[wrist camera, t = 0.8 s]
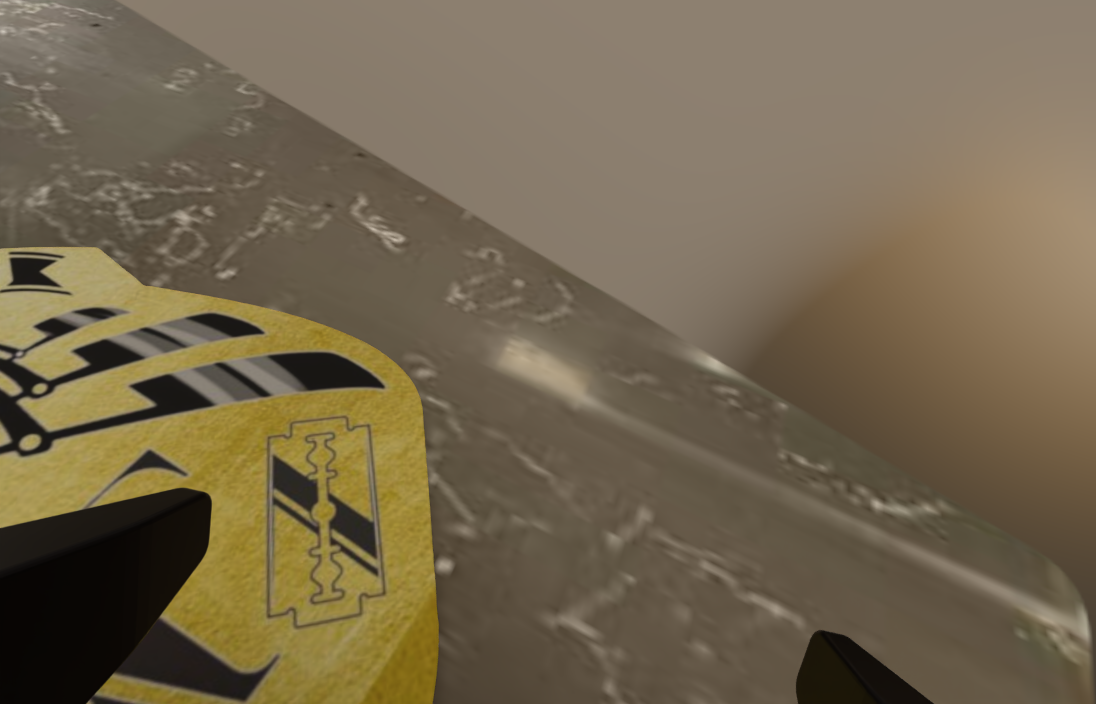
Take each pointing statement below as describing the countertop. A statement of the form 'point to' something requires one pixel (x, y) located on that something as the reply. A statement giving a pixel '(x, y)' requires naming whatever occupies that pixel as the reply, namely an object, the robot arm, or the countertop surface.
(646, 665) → the countertop surface
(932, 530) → the countertop surface
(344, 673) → the sign
